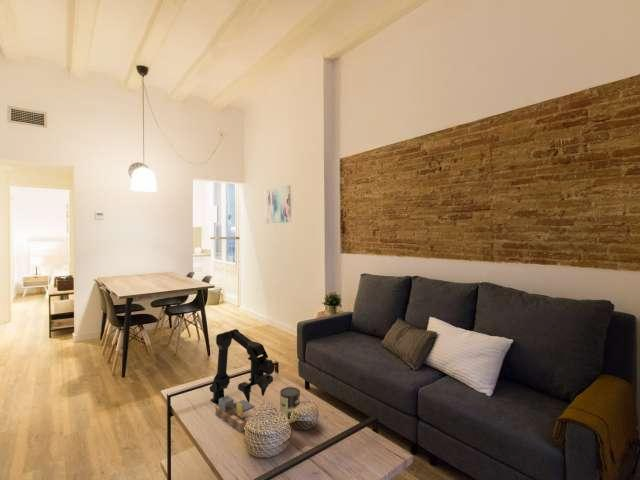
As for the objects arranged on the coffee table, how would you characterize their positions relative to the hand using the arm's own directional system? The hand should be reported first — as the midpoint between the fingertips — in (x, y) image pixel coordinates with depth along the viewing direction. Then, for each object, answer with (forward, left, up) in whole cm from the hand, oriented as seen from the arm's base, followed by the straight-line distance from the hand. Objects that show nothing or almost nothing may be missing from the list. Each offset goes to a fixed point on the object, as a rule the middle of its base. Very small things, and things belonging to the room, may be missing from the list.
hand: (255, 398), depth 178 cm
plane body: (-6, -10, -10) cm, 15 cm away
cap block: (-12, -10, -6) cm, 17 cm away
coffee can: (+13, +12, -10) cm, 20 cm away
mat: (-14, +1, -10) cm, 17 cm away
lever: (0, -10, -5) cm, 11 cm away
